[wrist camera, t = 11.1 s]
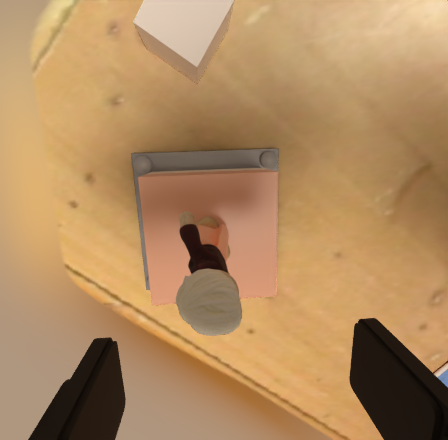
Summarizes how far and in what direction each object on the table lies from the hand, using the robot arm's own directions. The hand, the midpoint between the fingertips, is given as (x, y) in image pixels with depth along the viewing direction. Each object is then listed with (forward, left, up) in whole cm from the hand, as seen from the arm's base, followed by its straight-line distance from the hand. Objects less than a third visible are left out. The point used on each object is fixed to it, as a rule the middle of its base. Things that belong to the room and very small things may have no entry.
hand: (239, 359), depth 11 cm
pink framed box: (0, 0, -23) cm, 23 cm away
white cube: (+2, -19, -23) cm, 30 cm away
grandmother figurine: (+1, -1, -15) cm, 15 cm away
